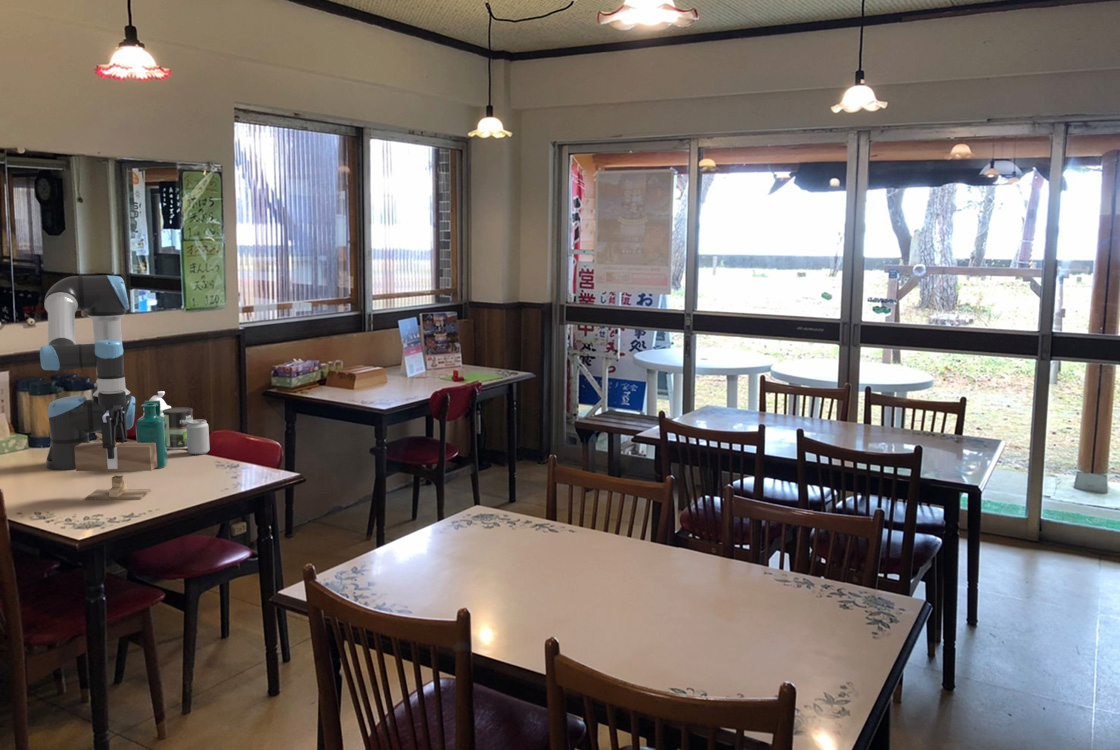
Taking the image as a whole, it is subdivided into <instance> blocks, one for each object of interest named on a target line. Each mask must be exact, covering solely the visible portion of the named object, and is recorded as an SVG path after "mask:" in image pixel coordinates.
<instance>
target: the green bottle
mask: <svg viewBox="0 0 1120 750" xmlns="http://www.w3.org/2000/svg"><path fill="white" fill-rule="evenodd" d="M140 407H141V408H142V409H143V408H144V410H143V414H144V416H143V415H142V416H143V417H142V416H141V417H138V419H137V420H136V422H135V434H136V443H156V454H157V467H156V468H154V469H153V470H155V469H162V468H165V467H166V466H167V464H168V461H169V460H168V449H167V441H166V424H165V418H164V417H163V416H160V401H149V400H144V403H143V404H141V405H140Z"/></svg>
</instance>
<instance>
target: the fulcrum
mask: <svg viewBox="0 0 1120 750" xmlns="http://www.w3.org/2000/svg"><path fill="white" fill-rule="evenodd" d="M128 486H129V485H128V481H127V482H125V478H124V475H123V474H122V475H121V474H119V475H117V474H116V475H114V476H112V477H111V488H107V489H105V488H102V489H101V488H100V489H96V490H94V491H93V492H91V493H90V494H88V495H87V496H86V497H85V500H87V501H90V500H92V501H95V500H98V501H99V500H101V501H102V500H106V501H107V500H142V499H143V498H144V497H145V496H147V495H148V494H149V493H151V492H152V491H151V489H150V488H129V487H128Z"/></svg>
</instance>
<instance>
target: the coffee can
mask: <svg viewBox="0 0 1120 750" xmlns="http://www.w3.org/2000/svg"><path fill="white" fill-rule="evenodd" d="M193 410H194V409H193V408H192V407H187V406H182V407H180V406H179V407H171V408H168V409H165V410H163V417H164V418H165V424H166V441H167V450H186V449H188V447H187V429H186V426H187V425H188V422H189V421H191V420H194V416H193Z"/></svg>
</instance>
